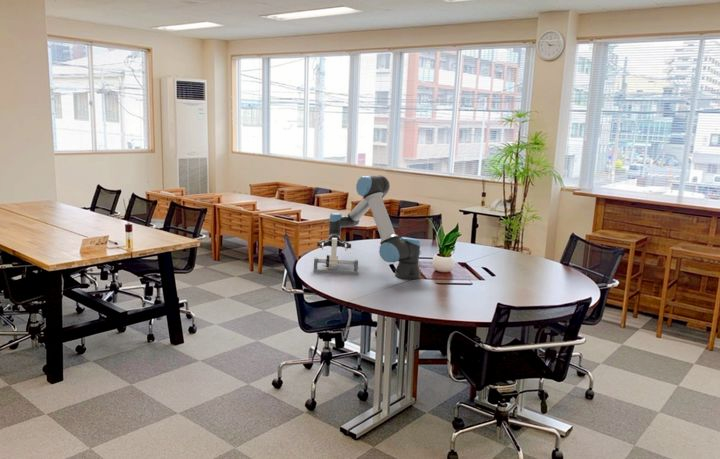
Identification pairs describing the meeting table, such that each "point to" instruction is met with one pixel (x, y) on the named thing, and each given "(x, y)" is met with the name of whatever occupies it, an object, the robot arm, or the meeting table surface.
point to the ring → (327, 261)
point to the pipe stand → (336, 270)
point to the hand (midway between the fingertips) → (334, 247)
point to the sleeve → (333, 254)
